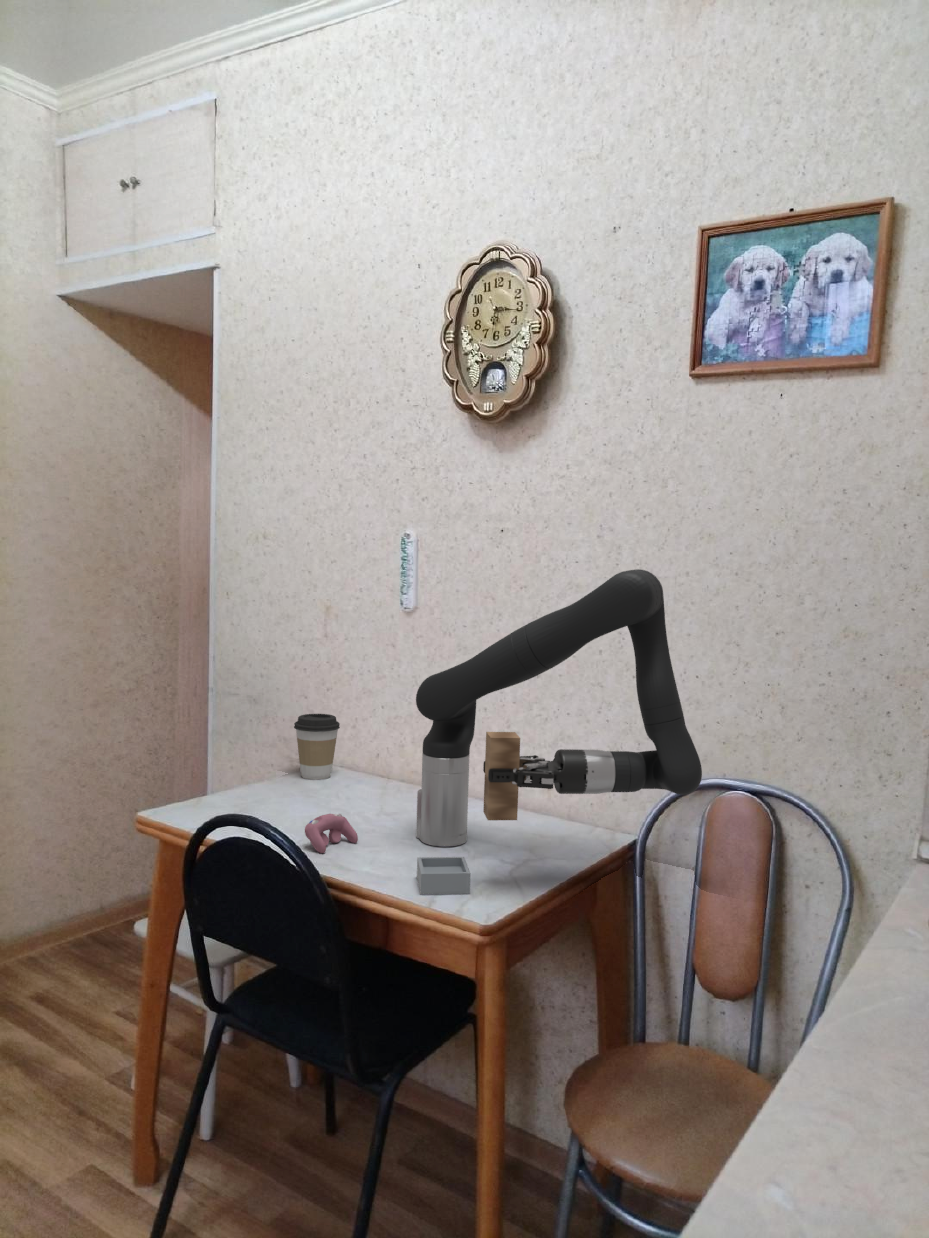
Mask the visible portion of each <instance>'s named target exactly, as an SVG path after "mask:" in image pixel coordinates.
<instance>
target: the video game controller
mask: <svg viewBox="0 0 929 1238" xmlns="http://www.w3.org/2000/svg"><path fill="white" fill-rule="evenodd" d="M325 831H329V832H328V835H327V833H324V832H325ZM304 834H305V837H306V838H307V839H308V840H309V841H310V844H311V846H312V848H313V849H315V850H316V852H318V853H320V854H322V853H323V854H325V853H326V851H327V845H329V843H331V844H337V843H339V842H340V841H341V839H342V836H343V837H345V839H346V840H348V841H349V842H350V843H352V844H356V843H357V842H358V841H359V836H358V833H357V830H355V829H354V828H353V826H352V825H351V824H350V822H349V821H348V819H347V818H346V817H345V816H343V815H342V813H338V814H337V813H326V814H322V815H319V816H317V817H315V818H314V819H311V820H310V821H309V822H308V823H307V824H305V826H304Z"/></svg>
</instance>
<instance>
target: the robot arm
mask: <svg viewBox="0 0 929 1238" xmlns="http://www.w3.org/2000/svg"><path fill="white" fill-rule="evenodd" d="M665 611H666V610H665V598H664V589H663V586H662V583H661V581H660V580H659V578H658V577H657V576H656V575H655V574H653V573H652V572H650V571H648V570H644V569H638V568H637V569H636V568H635V569H630V570H624V571H620V572H618V573H616V574H614V575H613V576H611V577H610V578H609V579H607V580H606V581H605V582H603V583H602V584H600V585H598V586H597V588H595V589H594V590H592V591H590V592H589V593H588V594H586V595H585V596H582V598H580V599H578V600H576V601H575V602H573V603H572V604H570V605H567V606H566V607H563V608H560V609H557V610H555V611H552V612H550V613H548V614H545V615H543V616H541V617H539V618H537V619H535V620H533V621H530V622H528V623H527V624H524V625H523V626H521V627H519V628H518V629H516V630H514V631H512V632H510V633H509V634H508V635H506V636H504V637H502V638H500V639H499V640H498V641H496V642H494V643H492V644H491V645H489V646H488V647H486V648H484V649H483V650H482V651H480V652H479V653H477V654H475V656H473V657H471V658H470V659H468V660H466V661H464V662H462V663H460V664H458V665H457V664H456V665H455V666H453V667H451V668H450V667H449V668H448V669H444V670H443V671H440V672H438V673H435V674H432V675H428V677H427V678H425V679H423V681H422V682H421V683H420V685H419V686H418V689H417V692H416V694H415V705H416V707H417V710H418V711H419V713H420V714H421V715H422V716H424V717H425V718H426V719H428V720H430V721H432V725H431V728H430V730H429V732H428V733H427V735H425V737H424V738H423V741H422V757H421V758H422V759H421V760H422V761H421V762H422V763H421V788H420V789H418V790H417V792H416V794H417V795H416V796H417V797H416V798H417V799H416V827H415V828H416V829H415V830H416V831H415V832H416V833H415V834H416V835H415V838H417V839H420V841H421V842H422V843H424V844H426V845H429V846H433V847H444V848H445V847H456V846H461V845H463V844H465V843H466V842H467V838H468V818H469V817H468V814H469V811H468V809H469V787H470V786H469V785H470V784H469V783H470V782H469V781H470V779H469V777H470V753H471V752H470V750H471V744H472V742H473V739H474V736H475V728H476V727H475V726H476V714H477V700H479V699H481V698H482V697H484V696H486V695H489V694H492V693H495V692H497V691H501V690H503V689H506V688H510V687H513V686H515V685H518V684H521V683H525V682H526V681H529V680H531V679H533V678H535V677H537V676H540V675H541V674H543V673H545V672H547V671H549V670H551V669H553V668H555V667H556V666H558V665H560V664H561V663H563V662H565V661H566V660H567V659H569V658H570V657H571V656H573V655H574V654H576V653H577V652H578V651H579V650H581V649H582V648H583V647H584V646H586V645H587V644H589V643H591V642H592V641H594V640H596V639H598V638H601V637H603V636H605V635H608V634H609V633H611V632H615V631H617V630H620V629H623V628H625V627H627V629H628V631H629V634H630V638H631V642H632V646H633V653H634V659H635V682H636V684H635V685H636V693H637V700H638V705H639V706H638V707H639V710H640V715H641V719H642V722H643V726H644V729H645V733H646V736H647V737H648V739H650V741H652V743H653V744H654V746H655V749H654V750H646V751H628V750H627V751H626V750H622V751H616V750H615V751H613V750H612V751H611V750H610V751H609V750H600V749H570V748H569V749H567V748H565V749H562V748H560V749H557V750H556V752H555V753H554V757H553V760H546V758H545V757H539V756H538V755H536V754H535V755H520V760H519V768H512V771H511V769H509V768H491V769H489V771H488V780H489V781H490V782H511V783H512V784H517V786H518V788H531V789H532V788H534V789H545V790H546V789H548V790H552V789H555V791H556V792H557V793H558V794H561V795H584V794H585V795H587V794H588V795H597V794H605V793H635V792H639V791H641V790H665V791H669V792H670V793H672V794H673V793H674V794H677V795H680V796H681V795H682V796H683V795H688V794H692V793H693V792H695V791H696V790H697V789H698V788H699V787H700V784H701V783H702V777H703V769H702V763H701V760H700V756H699V754H698V751H697V749H696V746H695V744H694V741H693V739H692V736H691V735H690V733H689V730H688V728H687V726H686V720H685V716H684V711H683V706H682V703H681V698H680V695H679V692H678V691H679V690H678V688H677V683H676V678H675V673H674V670H673V665H672V664H673V663H672V660H671V655H670V650H669V649H670V648H669V642H668V636H667V627H666V625H667V624H666V613H665ZM482 770H483V773H484V774H485V761H483V769H482Z"/></svg>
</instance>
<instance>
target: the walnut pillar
mask: <svg viewBox="0 0 929 1238" xmlns="http://www.w3.org/2000/svg"><path fill="white" fill-rule="evenodd" d="M520 753H521V737H520V736H519V735H518V734H517V732H516V731H486V733H485V757H484V758H485V759H484V760H485V773H484V783H483V784H484V787H483V813H484V816H485V818H486V820H487V821H518V811H519V787H518V786H517V784H512V783H511V782H490V781H489V780H488V771H489V769H491V768H509V769H511V771H512V768H519V760H520V756H521V754H520Z"/></svg>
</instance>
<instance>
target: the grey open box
mask: <svg viewBox="0 0 929 1238" xmlns="http://www.w3.org/2000/svg"><path fill="white" fill-rule="evenodd" d="M416 864H417V866H416V878H417V879H416V880H417V883H418V884H417V885H418V888H419V889H418V890H419V893H420V894H419V895H420V896H421V895H422V896H423V895H424V896H425V895H470V894H471V870H470V867H469V865H468V863H467V860H466V857H465V856H417V863H416Z"/></svg>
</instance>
